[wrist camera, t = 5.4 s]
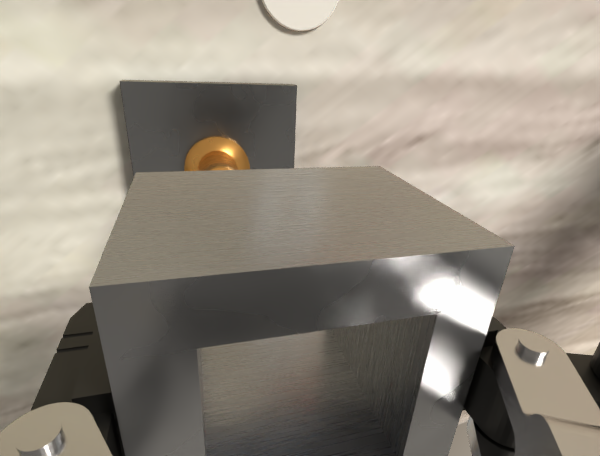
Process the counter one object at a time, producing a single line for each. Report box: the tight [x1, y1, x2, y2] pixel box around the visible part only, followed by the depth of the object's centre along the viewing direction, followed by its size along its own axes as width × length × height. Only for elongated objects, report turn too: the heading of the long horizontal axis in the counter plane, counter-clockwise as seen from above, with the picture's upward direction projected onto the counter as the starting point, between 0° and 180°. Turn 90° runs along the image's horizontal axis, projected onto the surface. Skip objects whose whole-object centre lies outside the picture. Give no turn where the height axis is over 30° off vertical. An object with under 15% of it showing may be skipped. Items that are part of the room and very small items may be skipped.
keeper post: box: [120, 80, 297, 176], centre depth 21 cm, size 10×10×8 cm
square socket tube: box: [89, 166, 514, 456], centre depth 9 cm, size 6×6×5 cm
